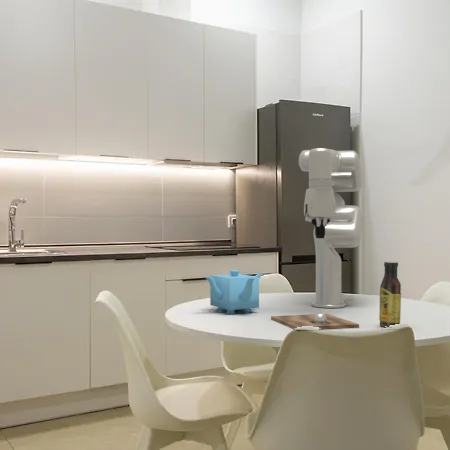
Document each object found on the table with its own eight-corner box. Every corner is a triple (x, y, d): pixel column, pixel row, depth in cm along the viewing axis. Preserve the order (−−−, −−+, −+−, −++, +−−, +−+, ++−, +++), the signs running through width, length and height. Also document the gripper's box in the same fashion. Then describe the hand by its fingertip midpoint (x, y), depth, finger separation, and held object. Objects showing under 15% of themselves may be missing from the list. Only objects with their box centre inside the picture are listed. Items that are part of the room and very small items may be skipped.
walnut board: (326, 316, 209) (326, 313, 209) (359, 327, 188) (359, 324, 188) (271, 319, 203) (271, 316, 203) (298, 330, 182) (298, 327, 182)
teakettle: (216, 307, 231) (216, 267, 231) (266, 309, 227) (266, 268, 226) (201, 314, 213) (201, 271, 213) (255, 316, 208) (255, 272, 208)
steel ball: (330, 319, 188) (326, 328, 190) (325, 309, 191) (321, 318, 193) (318, 320, 187) (314, 329, 189) (313, 310, 190) (310, 319, 192)
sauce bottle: (376, 324, 193) (376, 260, 192) (396, 324, 193) (396, 260, 193) (383, 328, 186) (383, 262, 186) (403, 328, 187) (404, 262, 186)
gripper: (334, 185, 218) (334, 237, 219) (295, 185, 214) (295, 238, 215) (344, 184, 211) (344, 238, 212) (304, 184, 207) (304, 239, 207)
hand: (320, 238), depth 213 cm, fingers closed
